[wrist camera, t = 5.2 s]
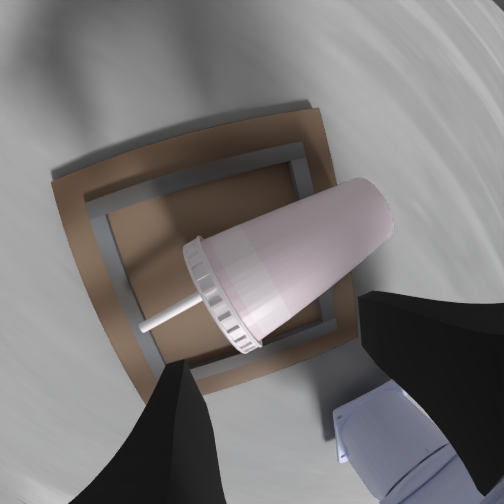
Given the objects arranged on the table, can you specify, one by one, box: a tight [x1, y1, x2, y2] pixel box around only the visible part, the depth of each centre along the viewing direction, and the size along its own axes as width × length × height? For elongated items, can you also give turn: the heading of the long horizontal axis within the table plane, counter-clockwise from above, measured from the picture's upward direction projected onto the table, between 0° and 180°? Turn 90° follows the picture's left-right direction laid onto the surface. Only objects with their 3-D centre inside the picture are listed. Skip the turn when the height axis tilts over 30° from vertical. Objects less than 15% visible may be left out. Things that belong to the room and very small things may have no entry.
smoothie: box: [139, 178, 394, 354], centre depth 15 cm, size 6×6×14 cm
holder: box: [51, 108, 358, 405], centre depth 18 cm, size 17×17×1 cm
